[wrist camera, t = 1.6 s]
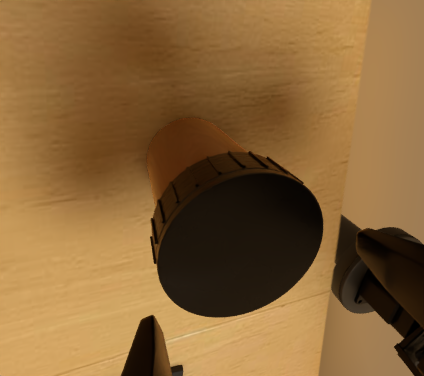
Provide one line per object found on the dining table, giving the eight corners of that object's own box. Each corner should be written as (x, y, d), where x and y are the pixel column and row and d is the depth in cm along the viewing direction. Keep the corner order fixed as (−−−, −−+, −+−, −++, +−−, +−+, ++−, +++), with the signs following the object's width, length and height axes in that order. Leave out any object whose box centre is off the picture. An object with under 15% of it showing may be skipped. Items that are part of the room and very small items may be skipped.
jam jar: (235, 119, 19) (325, 176, 11) (224, 196, 22) (290, 292, 13) (147, 114, 18) (170, 177, 9) (145, 198, 20) (163, 311, 11)
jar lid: (310, 151, 12) (347, 170, 10) (278, 272, 15) (301, 306, 13) (151, 147, 10) (158, 171, 8) (148, 288, 13) (153, 331, 11)
